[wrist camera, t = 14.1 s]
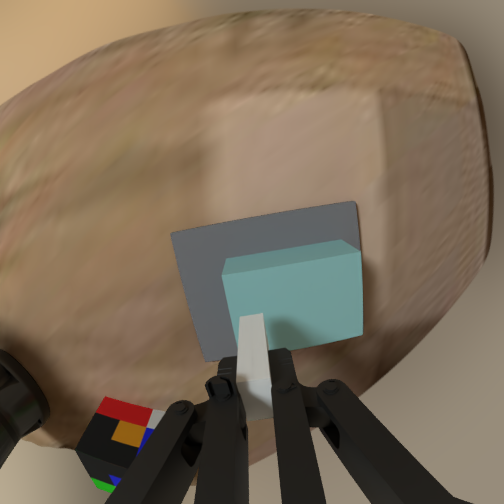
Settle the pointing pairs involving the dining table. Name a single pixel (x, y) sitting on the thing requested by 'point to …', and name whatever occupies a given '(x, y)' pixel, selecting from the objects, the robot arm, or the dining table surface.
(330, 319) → the teal block
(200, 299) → the rubber mat
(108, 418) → the puzzle toy
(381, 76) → the dining table surface
